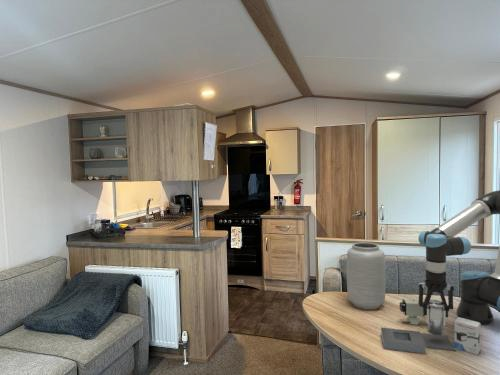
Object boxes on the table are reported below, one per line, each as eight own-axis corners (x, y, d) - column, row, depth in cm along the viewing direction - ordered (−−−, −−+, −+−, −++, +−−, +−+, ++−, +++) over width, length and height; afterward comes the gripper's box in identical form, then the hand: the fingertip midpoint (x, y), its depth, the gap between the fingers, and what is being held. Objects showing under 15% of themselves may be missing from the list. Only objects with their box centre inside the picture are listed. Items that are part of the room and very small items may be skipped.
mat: (447, 336, 147) (447, 335, 147) (455, 351, 136) (455, 349, 136) (417, 333, 151) (417, 332, 151) (423, 347, 139) (423, 346, 139)
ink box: (453, 347, 138) (453, 320, 138) (456, 343, 142) (456, 316, 141) (477, 355, 132) (478, 326, 132) (480, 350, 136) (480, 322, 135)
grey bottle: (442, 329, 145) (442, 300, 144) (446, 336, 139) (446, 306, 138) (424, 327, 147) (425, 298, 146) (428, 334, 141) (428, 304, 140)
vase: (341, 299, 193) (340, 242, 191) (372, 295, 196) (372, 240, 194) (358, 313, 173) (357, 250, 171) (393, 309, 176) (393, 247, 175)
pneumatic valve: (428, 326, 157) (428, 301, 157) (401, 324, 160) (401, 300, 159) (424, 321, 163) (424, 297, 162) (399, 319, 165) (398, 296, 164)
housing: (419, 339, 146) (419, 331, 146) (425, 353, 134) (425, 345, 134) (381, 334, 151) (381, 327, 150) (383, 348, 139) (383, 340, 139)
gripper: (457, 269, 142) (457, 321, 144) (410, 266, 148) (410, 317, 149) (463, 274, 135) (462, 329, 136) (413, 271, 141) (413, 324, 142)
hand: (435, 323), depth 143 cm, fingers closed on grey bottle, 6 cm apart
